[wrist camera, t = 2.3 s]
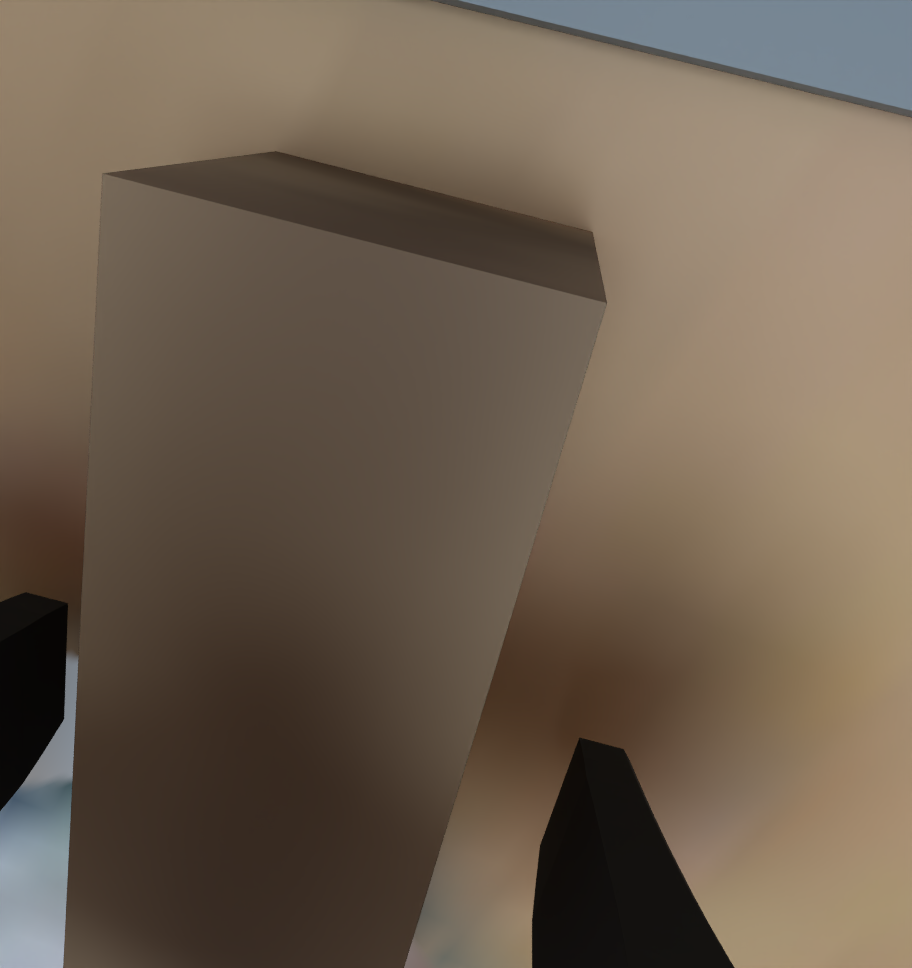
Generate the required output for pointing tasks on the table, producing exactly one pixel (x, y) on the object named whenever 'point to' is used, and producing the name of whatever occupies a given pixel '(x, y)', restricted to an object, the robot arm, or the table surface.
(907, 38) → the fulcrum
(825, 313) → the table surface
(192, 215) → the walnut bar
